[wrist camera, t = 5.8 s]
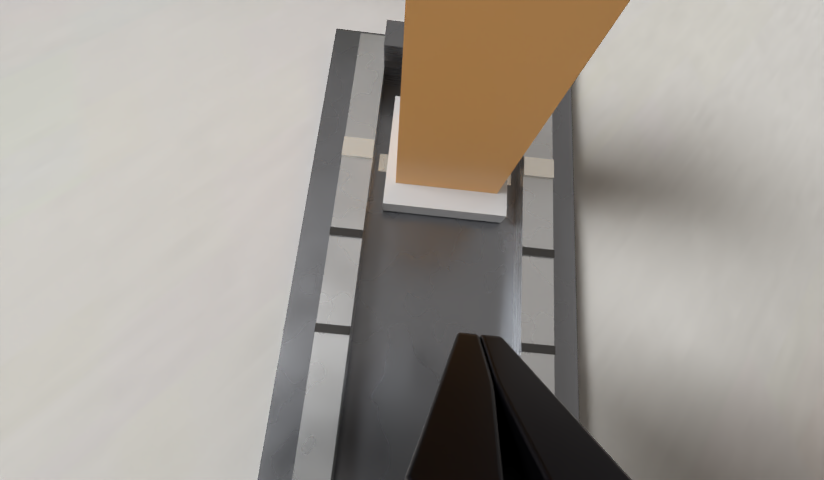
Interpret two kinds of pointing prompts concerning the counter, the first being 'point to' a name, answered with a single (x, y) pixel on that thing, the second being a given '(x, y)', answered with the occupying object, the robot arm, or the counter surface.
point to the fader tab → (481, 96)
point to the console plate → (409, 284)
